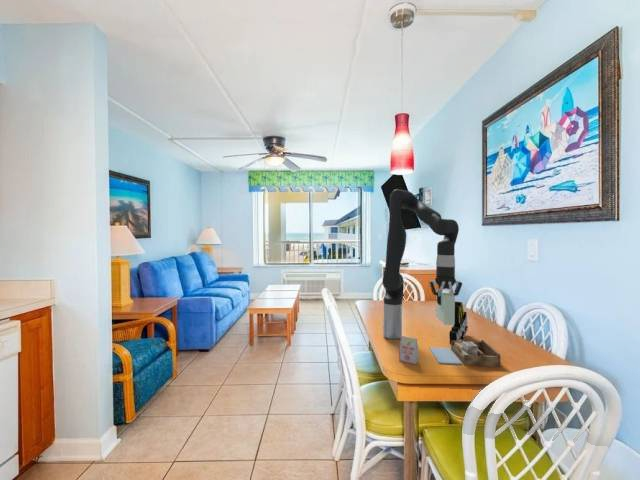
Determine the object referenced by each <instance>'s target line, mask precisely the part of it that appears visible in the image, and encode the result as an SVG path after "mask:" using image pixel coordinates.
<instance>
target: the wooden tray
mask: <svg viewBox="0 0 640 480" xmlns="http://www.w3.org/2000/svg"><path fill="white" fill-rule="evenodd" d="M462 341H464V342H473V343H474V344H476V345H477V346H478V355H464V356H463V355H462V354H461V353H460V352H459V350H458V349H457V348H456V347H455V346H454V343H455V342H462ZM450 349H451V351H452V352H453V353H454V354H455V355H456V357H457V358H458V359H459V360H460V361H461V363H462V365H464V366H469V367H470V366H473V367H488V368H491V367H493V368H501V354H500V353H499V352H498V351H497V350H496V349H495V348H493V347H492V346H491V345H490V344H489V343H487V342H486V341H485V340H483V339H481V340H480V341H471V340H469V339H466V340H459V341H451V344H450Z"/></svg>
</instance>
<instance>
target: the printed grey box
mask: <svg viewBox="0 0 640 480" xmlns="http://www.w3.org/2000/svg"><path fill="white" fill-rule="evenodd" d="M399 339H400V340H399V346H398V361H399V362H403V363H406V364H411V365H417V363H418V362H419V345H418V344H419V343H418V339H417V338H414V337H410V336H409V337H408V336H404V335H402V336H401V338H399Z"/></svg>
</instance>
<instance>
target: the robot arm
mask: <svg viewBox="0 0 640 480" xmlns="http://www.w3.org/2000/svg"><path fill="white" fill-rule="evenodd" d="M402 209H405V210H409V211H411V212H413V213H415V214H416V217H417V218H418V219H419V221H422V222H423V223H425V224H426V225H427V226H428V227H429V228H430V229H431V231H433V233H434V234H436V235H439V236H443V239H442V240H441V241H439V242H437V245H436V247H437V249H436V250H437V251H436V255H437V256H436V262H435V266H436V271H435V273H436V276H435V279H434V280H429V281H428V283H429V288H430V290H431V293H432V295H435V297H436V296H437V303H438V305H441V293H442V291H443V290H447V291H448V292H449V293H451V294H453V295H454V296H455V297H456V296H459V293H460V291H461V289H462V286H463V282H461V281H458V280H457V279H456V257H455V252H456V251H455V247H456V246H455V245H456V243H457V238H458V236H459V230H460V229H459V228H460V227H459V224H458V221H457V220H455V219H451V218H450V219H449V218H448V219H447V218H442V215H441V213H440V212H437V211H436V210H435V209H433V208H431V207H429V206H428V205H426V204H425V203H424V202H423V201H421V200H420V199H419V198H418V197H416V196H415V194H414V193H413V192H411V191H410V190H404V189H398V188H397V189H394V190H393V191H392V192H391V193H390V195H389V214H388V215H389V218H388V219H389V221H388V230H387V232H388V233H387V243H386V255H385V266H384V272H383V276H382V285H383V288H384V289H385V293H384V296H383V317H382V335H383V338H384V339H390V340H399V339H401V336H403V334H402V333H403V328H402V327H403V298H404V285H405V283H404V281H405V280H404V278H403V275H402V274H401V273H400V271H401V269H400V268H401V263H402V260H403V256H404V253H405V250H406V243H407V231H406V230H405V229H406V228H405V226H404V223H403V221H402ZM436 284H437V290H438V291H437V292H436V287H435V285H436ZM454 285H455V289H454V288H453V286H454Z"/></svg>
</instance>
